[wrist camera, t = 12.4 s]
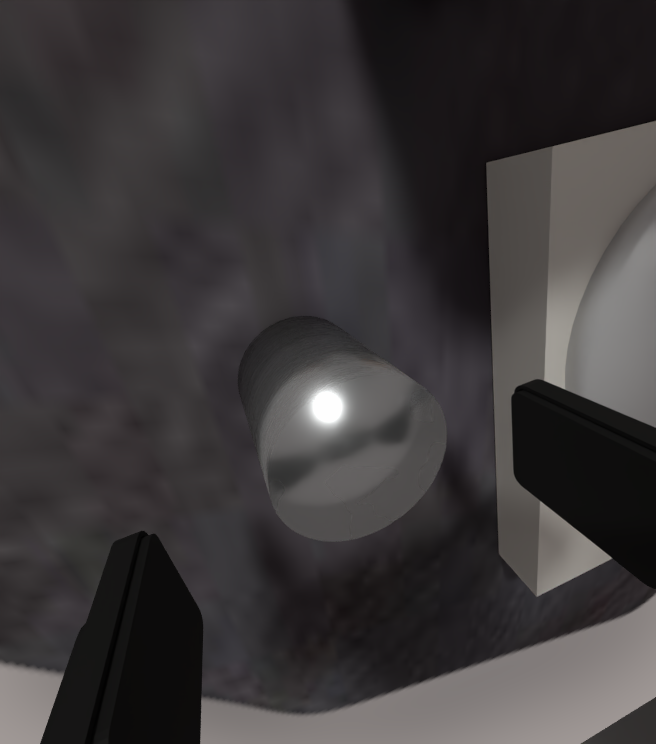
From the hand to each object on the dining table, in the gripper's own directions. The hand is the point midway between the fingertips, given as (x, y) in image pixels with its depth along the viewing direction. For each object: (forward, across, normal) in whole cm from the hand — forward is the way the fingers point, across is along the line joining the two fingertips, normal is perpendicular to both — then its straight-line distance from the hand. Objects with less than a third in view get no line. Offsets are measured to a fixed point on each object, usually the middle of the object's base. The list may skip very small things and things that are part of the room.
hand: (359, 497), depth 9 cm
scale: (+7, -17, +4) cm, 19 cm away
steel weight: (+6, 0, -1) cm, 7 cm away
